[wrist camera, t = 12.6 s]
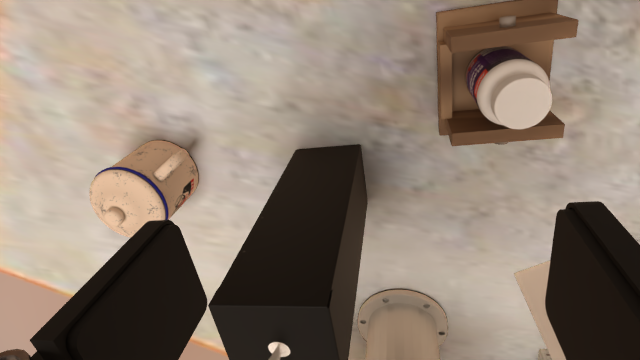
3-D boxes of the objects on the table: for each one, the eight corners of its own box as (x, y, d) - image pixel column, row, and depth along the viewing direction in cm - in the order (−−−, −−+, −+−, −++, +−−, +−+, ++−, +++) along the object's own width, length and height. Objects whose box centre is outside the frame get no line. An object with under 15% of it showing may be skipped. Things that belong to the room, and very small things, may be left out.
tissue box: (361, 143, 44) (319, 355, 20) (368, 202, 48) (339, 443, 23) (295, 148, 46) (182, 349, 22) (306, 205, 49) (220, 432, 25)
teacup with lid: (174, 210, 54) (123, 266, 44) (122, 163, 51) (55, 211, 41) (229, 163, 48) (185, 214, 38) (174, 108, 46) (112, 147, 36)
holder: (540, 122, 40) (567, 151, 33) (438, 131, 42) (446, 159, 36) (553, -6, 34) (588, -1, 28) (436, 12, 37) (444, 21, 30)
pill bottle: (461, 52, 37) (481, 77, 28) (523, 37, 35) (563, 59, 27) (467, 107, 39) (487, 144, 31) (526, 94, 38) (564, 131, 29)
